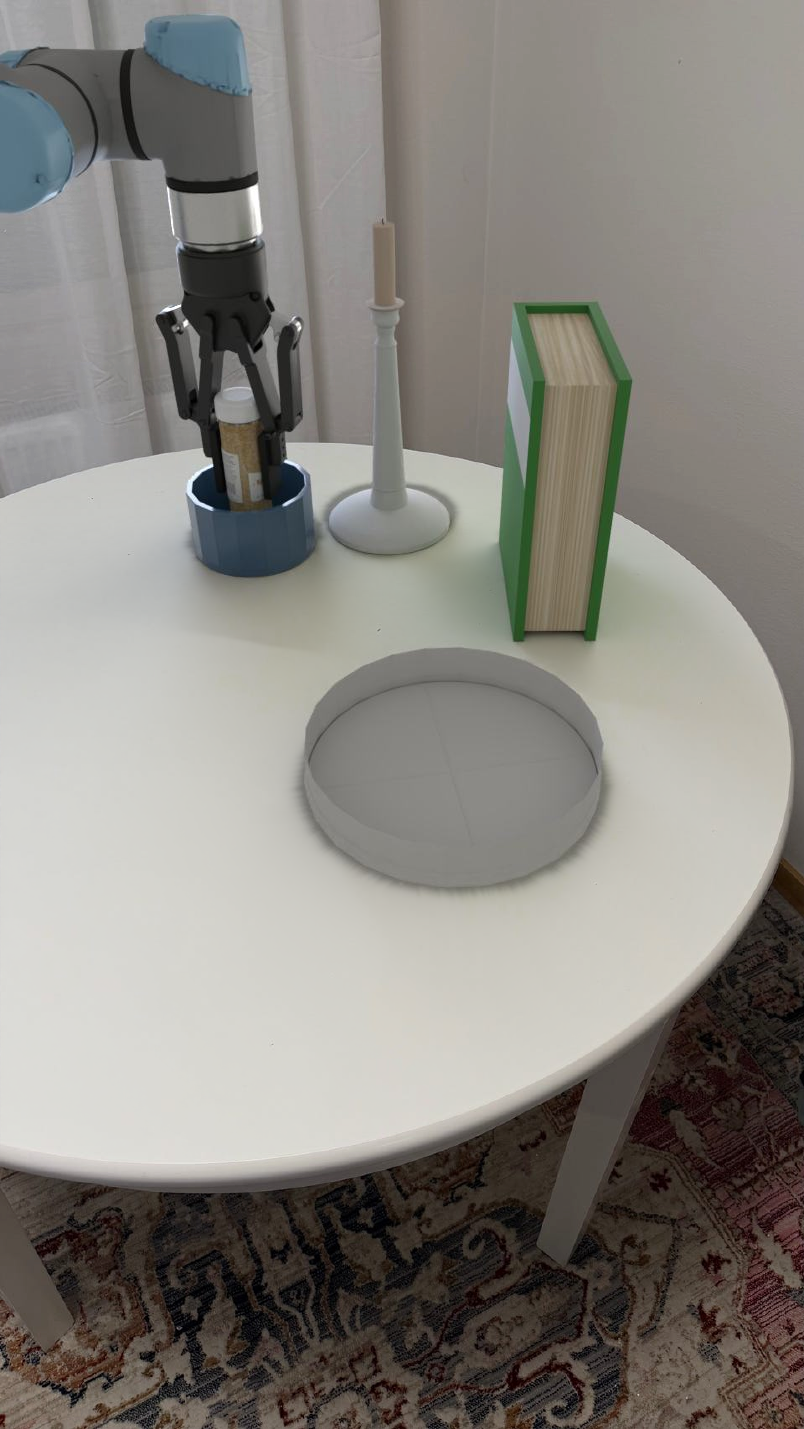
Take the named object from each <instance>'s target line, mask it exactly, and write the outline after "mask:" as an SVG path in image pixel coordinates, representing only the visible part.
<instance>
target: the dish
mask: <svg viewBox="0 0 804 1429" xmlns="http://www.w3.org/2000/svg"><path fill="white" fill-rule="evenodd" d="M304 731H305V732H304V750H303V754H304V755H303V756H304V773H303V785H304V790H305V795H306V798H307V800H308V803H309V806H310V809H311V812H312V815H313V818H314V820H315V822H316V823H317V824H318V825H319V827H320V828H321V829H322V830H323V832H324V833H325V834H326V836H327V837H328V839H329V840H331V842H332V843H333V845H334V846H336V847H337V848H339V849H340V850H341V851H342V852H344V853H346V854H347V855H348V856H349V857H351V858H352V859H354V860H355V861H357V862H358V863H360V864H361V865H362V866H364V867H366V868H369V869H371V870H374V871H376V872H379V873H381V874H384V875H387V876H389V877H392V878H394V879H396V880H398V881H402V882H408V883H414V884H419V885H424V886H425V885H426V886H431V887H438V888H467V887H470V888H471V887H487V886H488V887H489V886H491V885H492V886H493V885H495V884H499V883H503V882H507V881H511V880H515V879H519V878H523V877H526V876H528V875H531V874H532V873H534V872H536V871H538V870H539V869H542V868H543V867H545V866H547V865H549V864H551V863H553V862H555V861H557V860H559V859H560V858H561V857H562V856H563V855H564V854H565V853H567V852H568V851H569V849H571V848H572V847H573V846H574V845H575V844H576V843H577V842H578V841H579V840H581V838H583V836H584V835H585V833H586V831H587V829H588V827H589V825H590V823H591V821H592V819H593V817H594V815H595V813H596V811H597V809H598V808H597V807H598V802H599V800H600V795H601V794H600V793H601V783H602V775H603V771H602V759H603V751H604V741H603V737H602V734H601V731H600V727H599V722H598V719H597V718H596V716H595V714H594V713H593V712H592V710H591V709H590V707H589V706H588V705H587V703H586V702H585V700H584V699H583V697H582V696H581V695H580V694H579V693H577V692H576V691H575V690H574V689H573V688H572V687H570V686H569V685H568V684H566V683H565V682H564V681H563V680H562V679H560V678H559V677H558V676H557V675H555V674H553V673H551V672H548V671H547V670H545V669H543V668H541V667H539V666H537V665H535V664H533V663H531V662H530V661H527V660H525V659H522V658H521V659H520V658H517V657H514V656H511V655H507V654H503V653H500V652H497V651H492V650H483V649H477V648H469V647H458V646H457V647H425V648H419V649H415V650H410V651H405V652H399V653H394V654H391V655H388V656H385V657H382V658H380V659H377V660H375V661H372V662H369V663H366V664H364V665H362V666H360V667H358V668H357V669H355V670H354V671H352V672H351V673H349V674H347V675H346V676H344V677H342V678H341V679H340V680H338V681H336V682H335V683H334V684H333V685H332V686H331V687H330V689H328V691H327V692H325V694H324V695H323V696H322V697H321V698H320V699H319V701H317V703H316V704H315V706H314V708H313V711H312V713H311V715H310V717H309V720H308V721H307V724H306V726H305V730H304Z"/></svg>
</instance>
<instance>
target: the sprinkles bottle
mask: <svg viewBox="0 0 804 1429" xmlns="http://www.w3.org/2000/svg"><path fill="white" fill-rule="evenodd" d="M214 404H215V413H216V417H217V421H218V422H219V428H220V436H221V444H222V445H221V449H222V456H223V464H224V471H225V479H226V486H227V493H228V497H229V501H230V510H231V511H235V512H241V511H257V510H263V509H267V508H271V507H272V500H266V499H264V492H263V483H262V474H261V465H260V456H259V446H258V435H259V434H260V433H261V432H262V431H263V430H264V428H263V424H262V421H261V418H260V415H259V412H258V408H257V405H256V402H255V399H254V396H253V393H252V389H251V386H250V387H249V386H234V387H233V386H232V387H228V388H225V389H221V391H220V392H218V393H217V394H216V395H215V397H214Z"/></svg>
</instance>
